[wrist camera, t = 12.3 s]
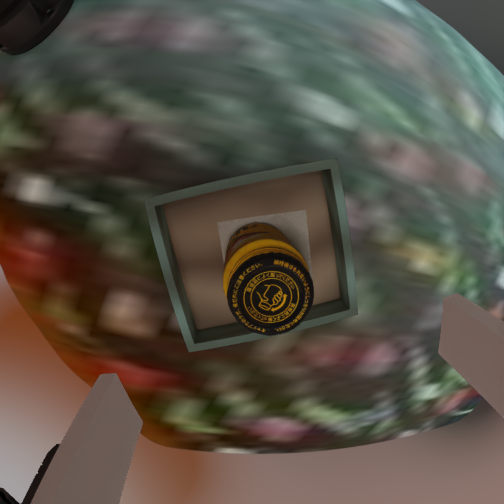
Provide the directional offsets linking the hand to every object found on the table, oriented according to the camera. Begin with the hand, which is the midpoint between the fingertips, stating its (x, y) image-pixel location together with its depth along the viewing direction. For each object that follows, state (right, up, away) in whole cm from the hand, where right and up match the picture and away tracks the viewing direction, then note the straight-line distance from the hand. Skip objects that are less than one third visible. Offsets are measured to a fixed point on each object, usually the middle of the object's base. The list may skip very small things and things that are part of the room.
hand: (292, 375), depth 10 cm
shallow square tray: (-1, +5, +24) cm, 24 cm away
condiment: (0, +4, +19) cm, 20 cm away
